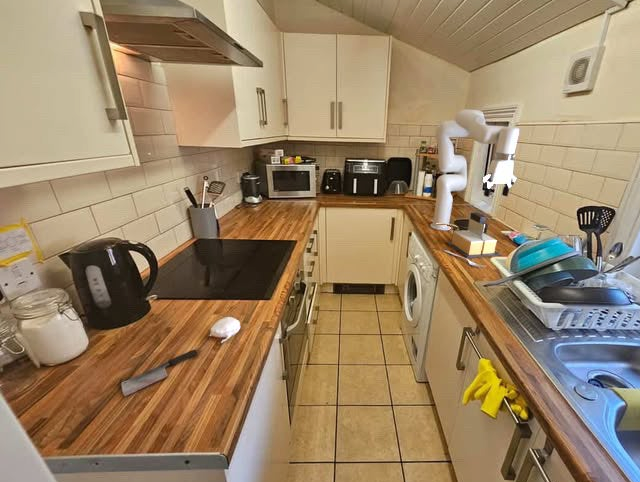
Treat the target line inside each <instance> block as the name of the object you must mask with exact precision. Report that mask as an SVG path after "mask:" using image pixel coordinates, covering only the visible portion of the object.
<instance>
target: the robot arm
mask: <svg viewBox="0 0 640 482" xmlns="http://www.w3.org/2000/svg"><path fill="white" fill-rule="evenodd" d="M519 135H520V128H519V127H516V126H505V125H487V124H486V119H485V115H484V112H483V111H482V110H480V109H469V108H468V109H467V108H466V109H465V108H464V109H460V110H459V111H457V113H456V114H455V117H454V120H443V121H440V123H439V124H438V125H437V127H436V130H435V140H436V145H437V156H438V157H437V159H438V169H439V171H440V172H441V173H449V174H442V175H440V176H438V178H437V179H436V196H435V197H436V198H435V206H434V213H433V217H432V222H431V223H430V224H429V227H430V228H431V229H433V230H437V231H450V230H451V229H452V226H451V225H450V221H451V215H452V209H453V201H454V199H453V195H452V193H451V192H461V191H464V190H465V189H466V188H467V184H468V165H467V164H468V163H467V159H466V157H465V156H463V155H461V154H455V147H454V144H453V142H452V141H451V139H450V138H466V137H468V136H469V137H470V139H472V140H474V141H475V142H477V143H478V144H482V145H487V144H488V145H496V149H495V153H494V158H493V159H492V160H491V162H490V165H489V167H488V171H487V174H486V175H484V176H482V177H481V181H482V184H483V187H484V191H483V196H484V197H486V198H489V197H490V195H491V189H492V188H491V187H492V186H493V185H504V186H503V188H502V193H501V195H502V196H504V197H508V196H509V193H510V189H511V188H512V186H513V185H514V184H515V182H516V180H517V179H518V177H516V176H515V175H514V174H513V173H514V164H515V163H514V159H515V158H516V154H515V151H516V148H517V143H518V139H519ZM451 173H453V174H451ZM436 223H445V224H449V225H450V226H451V227H450V226H447V225H437V224H436Z"/></svg>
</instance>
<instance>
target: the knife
mask: <svg viewBox="0 0 640 482" xmlns="http://www.w3.org/2000/svg"><path fill="white" fill-rule="evenodd" d="M486 220H487V216H485V215H483V214H480V213H479V212H470V217H469V220H468V227H467V230H468V231H470V232H471V233H473V234H475V235H477V236H478V237H480V238H482V237H483V233H485V227H486V224H485V223H486Z"/></svg>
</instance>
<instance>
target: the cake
mask: <svg viewBox="0 0 640 482" xmlns="http://www.w3.org/2000/svg"><path fill="white" fill-rule="evenodd" d="M497 241H498V239H496V238H494V237H492V236H491V235H488V234H486V233H485V232H483V237H482V238H480V237H478V236H477V235H475V234H473V233H471V232H470V231H468V229H466V230H453V232H452V238H451V241H446V242H445V244H447V245H448V246H449V247H451V248H452V249H454V250H455V252H457V253H459V254H460V255H461V256H462V257H464V258H466V259H474V258H487V257H498V256H499V257H500V256H501V254H500V253H498V251H497V252H496V246H497Z"/></svg>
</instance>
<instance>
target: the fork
mask: <svg viewBox="0 0 640 482" xmlns="http://www.w3.org/2000/svg"><path fill="white" fill-rule="evenodd" d="M443 252H445V253H447V254H449V255H453V256H455V257H458V258H461V259H464V260H466V261H467V262H468V264H469V265H470V266H472V267H477V268H478V267H479V268H482V267H483V268H484V267H487V265H486V264H485V265H484V264H479V263H476V262H473V261H471V260H470V259H469V258H466V257H465V256H462V255H458V254H456V253H454V252H452V251H449V250H447V249H443Z"/></svg>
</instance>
